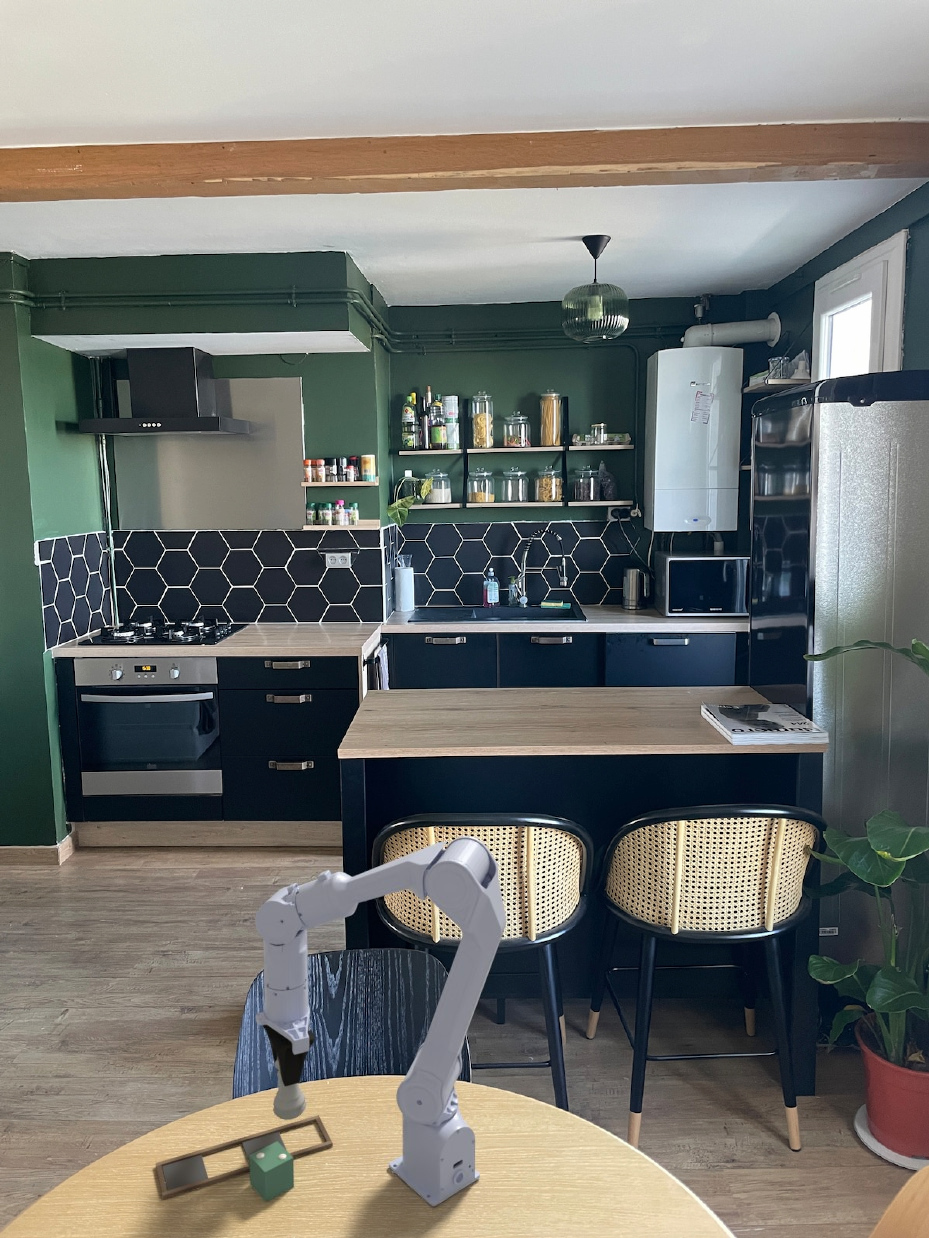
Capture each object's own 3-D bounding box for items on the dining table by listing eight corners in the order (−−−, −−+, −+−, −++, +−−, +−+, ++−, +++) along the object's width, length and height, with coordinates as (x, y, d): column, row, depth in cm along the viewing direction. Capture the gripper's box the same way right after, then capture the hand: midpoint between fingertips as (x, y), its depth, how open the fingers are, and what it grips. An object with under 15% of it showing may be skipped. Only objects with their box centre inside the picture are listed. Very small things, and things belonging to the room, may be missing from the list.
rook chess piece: (310, 1099, 126) (307, 1046, 124) (300, 1122, 121) (297, 1067, 120) (279, 1097, 126) (276, 1044, 125) (268, 1120, 122) (264, 1065, 121)
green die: (293, 1186, 116) (293, 1156, 116) (265, 1201, 114) (265, 1171, 113) (278, 1169, 119) (277, 1140, 119) (250, 1184, 116) (249, 1154, 116)
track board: (318, 1118, 129) (318, 1114, 129) (332, 1146, 124) (332, 1142, 123) (155, 1166, 120) (155, 1162, 120) (163, 1199, 114) (162, 1195, 114)
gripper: (243, 961, 126) (245, 1053, 128) (269, 1013, 113) (271, 1115, 115) (293, 951, 129) (295, 1041, 131) (324, 1000, 116) (325, 1099, 118)
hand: (287, 1075), depth 123 cm, fingers closed on rook chess piece, 3 cm apart
